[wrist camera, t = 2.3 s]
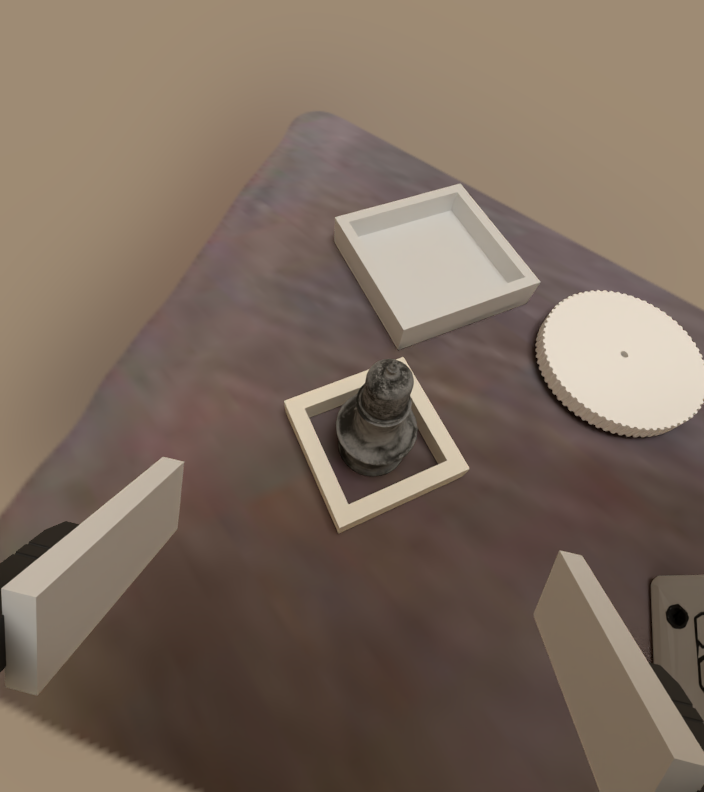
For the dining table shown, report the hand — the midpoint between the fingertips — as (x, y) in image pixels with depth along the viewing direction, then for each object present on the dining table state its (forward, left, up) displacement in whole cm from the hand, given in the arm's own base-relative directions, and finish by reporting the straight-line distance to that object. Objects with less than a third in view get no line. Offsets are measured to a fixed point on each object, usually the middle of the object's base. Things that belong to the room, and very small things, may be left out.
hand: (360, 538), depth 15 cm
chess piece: (+8, -6, -17) cm, 20 cm away
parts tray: (+22, -19, -17) cm, 34 cm away
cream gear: (+6, -29, -17) cm, 35 cm away
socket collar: (+8, -6, -17) cm, 20 cm away
